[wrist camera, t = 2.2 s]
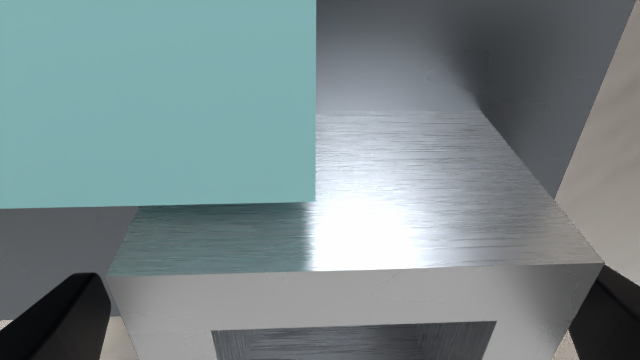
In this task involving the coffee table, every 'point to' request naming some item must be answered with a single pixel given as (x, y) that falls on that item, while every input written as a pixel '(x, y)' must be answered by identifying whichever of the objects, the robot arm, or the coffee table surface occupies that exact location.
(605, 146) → the coffee table surface
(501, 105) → the metal cubes
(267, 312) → the hollow square metal block
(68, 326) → the robot arm
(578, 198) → the coffee table surface
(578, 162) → the coffee table surface
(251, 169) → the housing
